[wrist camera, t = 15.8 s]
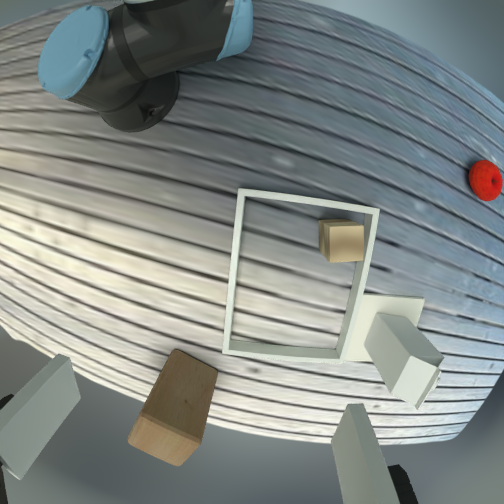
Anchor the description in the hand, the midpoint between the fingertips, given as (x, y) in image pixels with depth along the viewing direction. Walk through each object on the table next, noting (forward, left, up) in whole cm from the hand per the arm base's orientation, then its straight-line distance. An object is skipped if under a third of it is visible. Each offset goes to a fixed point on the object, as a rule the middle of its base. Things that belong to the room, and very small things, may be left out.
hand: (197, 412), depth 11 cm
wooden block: (+28, -9, -37) cm, 47 cm away
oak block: (-3, +14, -37) cm, 40 cm away
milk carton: (+13, +28, -36) cm, 47 cm away
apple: (-19, +43, -37) cm, 60 cm away
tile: (+13, +28, -37) cm, 48 cm away
